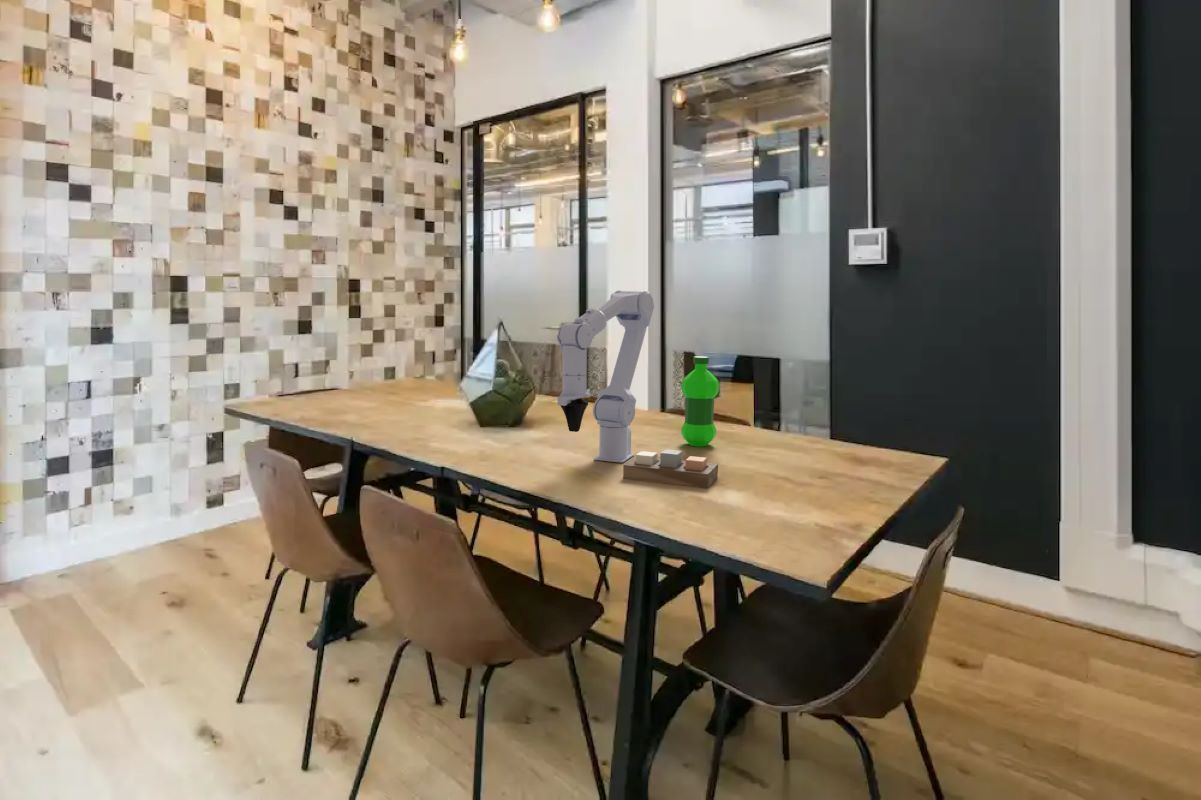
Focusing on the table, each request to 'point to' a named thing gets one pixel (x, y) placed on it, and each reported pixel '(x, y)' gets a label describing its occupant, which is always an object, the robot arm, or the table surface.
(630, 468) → the frame
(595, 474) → the table surface
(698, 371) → the plastic bottle
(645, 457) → the key ivory
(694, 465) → the key terracotta
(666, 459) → the key slate
